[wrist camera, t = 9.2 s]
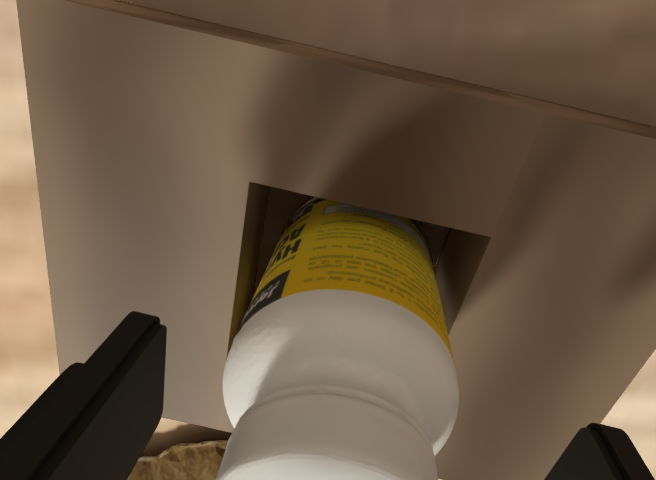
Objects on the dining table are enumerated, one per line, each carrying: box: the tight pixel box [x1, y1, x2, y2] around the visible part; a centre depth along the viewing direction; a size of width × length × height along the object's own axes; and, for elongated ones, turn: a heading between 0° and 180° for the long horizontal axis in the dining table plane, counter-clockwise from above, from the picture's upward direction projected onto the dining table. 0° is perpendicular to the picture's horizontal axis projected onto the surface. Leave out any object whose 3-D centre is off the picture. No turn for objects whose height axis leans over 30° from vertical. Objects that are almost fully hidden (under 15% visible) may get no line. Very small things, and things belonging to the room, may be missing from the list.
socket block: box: [17, 0, 656, 480], centre depth 14 cm, size 18×13×4 cm
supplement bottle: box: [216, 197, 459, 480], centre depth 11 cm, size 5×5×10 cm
